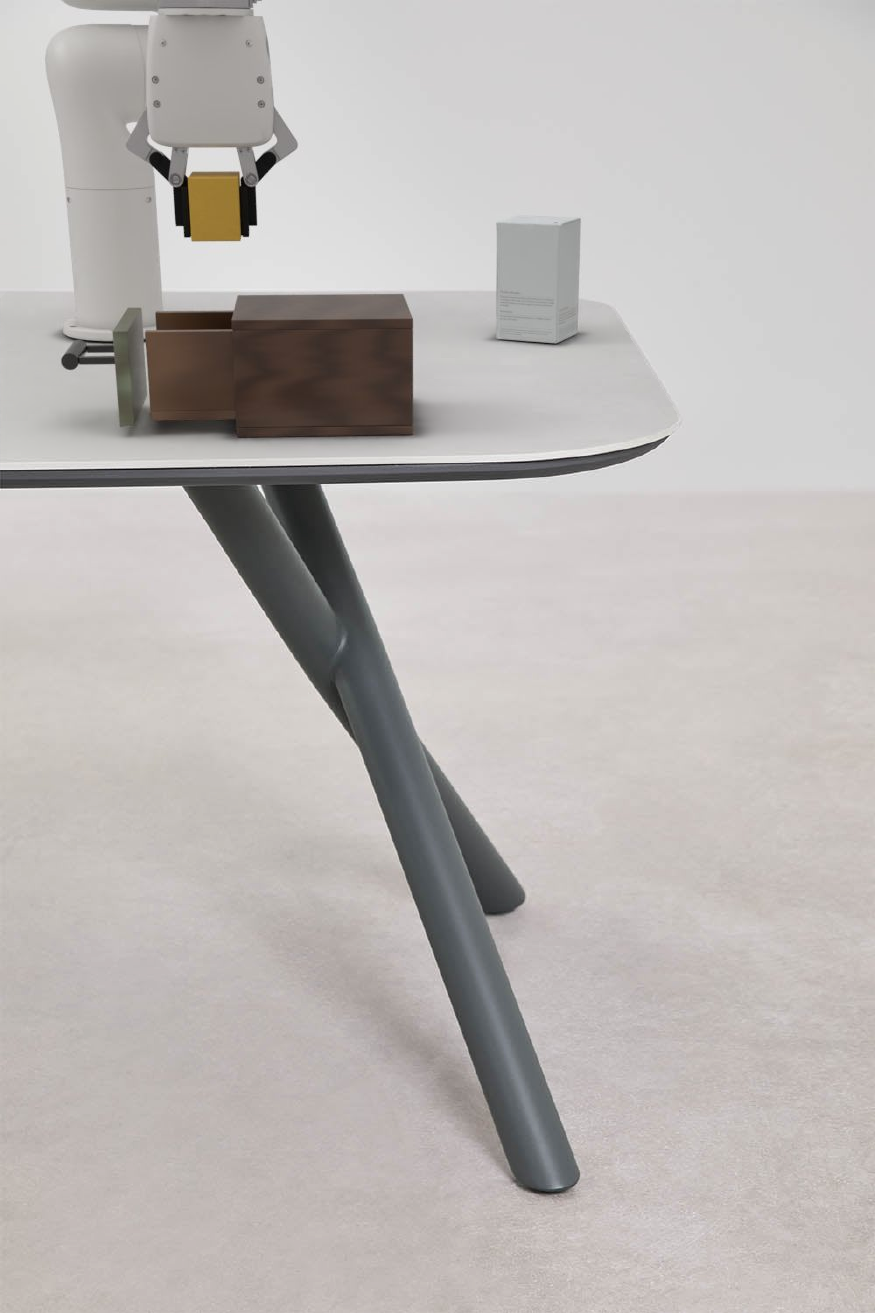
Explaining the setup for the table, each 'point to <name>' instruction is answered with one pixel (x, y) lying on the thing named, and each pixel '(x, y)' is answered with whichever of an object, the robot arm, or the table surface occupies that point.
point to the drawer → (169, 365)
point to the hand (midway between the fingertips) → (217, 232)
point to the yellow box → (214, 206)
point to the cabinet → (323, 365)
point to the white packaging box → (537, 278)
